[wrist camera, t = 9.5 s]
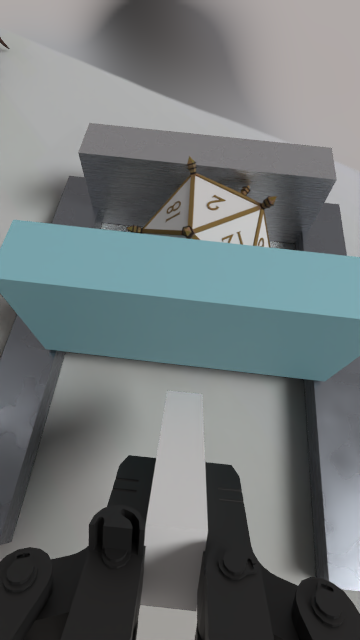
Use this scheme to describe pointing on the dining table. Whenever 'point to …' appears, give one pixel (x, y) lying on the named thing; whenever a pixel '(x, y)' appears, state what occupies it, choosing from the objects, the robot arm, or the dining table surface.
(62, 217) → the vise base
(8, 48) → the decorative bird
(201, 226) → the game die
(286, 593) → the robot arm
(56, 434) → the dining table surface
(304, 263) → the sliding jaw
